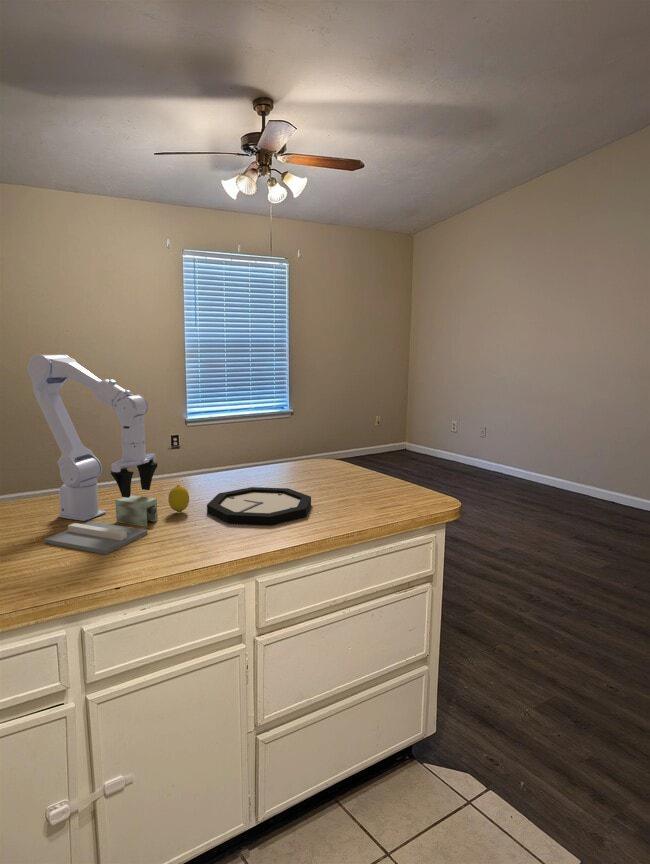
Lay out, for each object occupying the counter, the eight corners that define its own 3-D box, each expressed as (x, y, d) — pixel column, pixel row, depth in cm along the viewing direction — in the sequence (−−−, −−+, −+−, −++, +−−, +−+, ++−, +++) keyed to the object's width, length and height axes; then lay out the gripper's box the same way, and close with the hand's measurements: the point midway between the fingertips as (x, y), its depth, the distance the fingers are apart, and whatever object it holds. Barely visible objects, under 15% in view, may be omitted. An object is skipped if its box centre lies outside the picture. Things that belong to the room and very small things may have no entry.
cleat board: (44, 543, 124) (44, 532, 124) (90, 524, 137) (89, 515, 137) (105, 554, 118) (105, 543, 118) (147, 534, 131) (147, 524, 130)
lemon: (168, 510, 149) (167, 483, 148) (188, 509, 151) (187, 481, 150) (169, 516, 144) (168, 488, 143) (190, 514, 146) (189, 486, 145)
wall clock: (331, 495, 158) (275, 524, 132) (331, 504, 158) (276, 535, 132) (248, 482, 172) (183, 506, 145) (248, 491, 172) (184, 516, 146)
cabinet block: (116, 522, 140) (115, 499, 139) (130, 516, 144) (129, 494, 144) (148, 527, 136) (147, 504, 135) (161, 520, 141) (160, 499, 140)
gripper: (126, 448, 129) (129, 502, 131) (164, 438, 142) (166, 487, 145) (103, 446, 131) (106, 499, 134) (142, 436, 145) (145, 485, 147)
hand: (136, 493), depth 139 cm, fingers open, 7 cm apart
